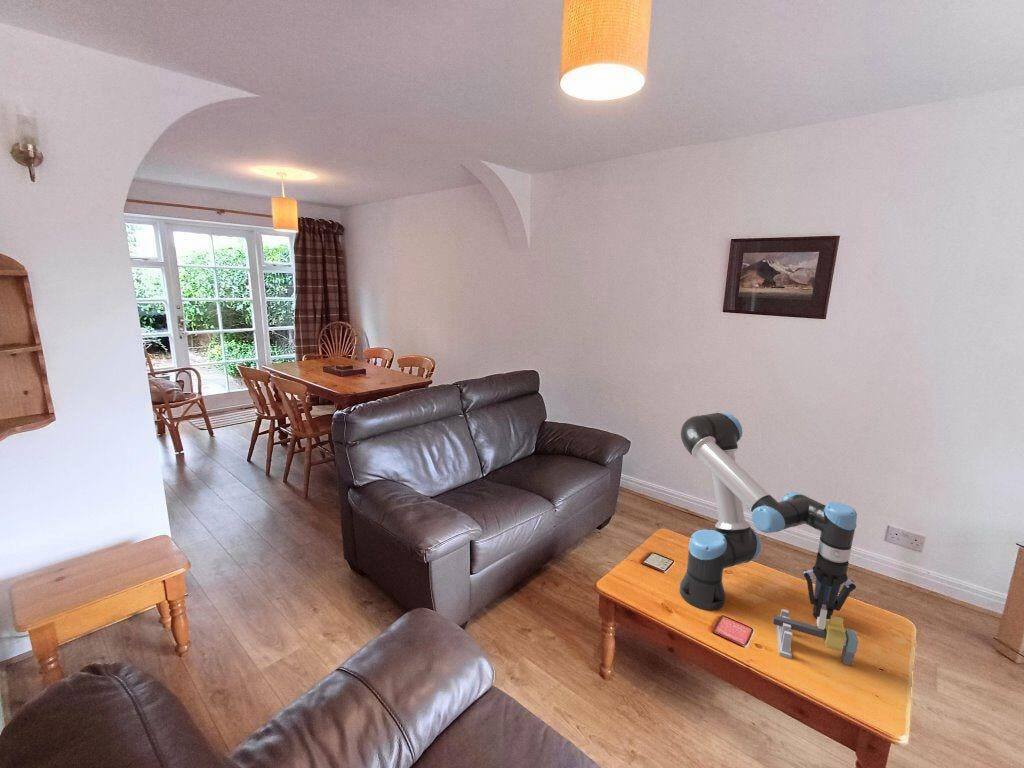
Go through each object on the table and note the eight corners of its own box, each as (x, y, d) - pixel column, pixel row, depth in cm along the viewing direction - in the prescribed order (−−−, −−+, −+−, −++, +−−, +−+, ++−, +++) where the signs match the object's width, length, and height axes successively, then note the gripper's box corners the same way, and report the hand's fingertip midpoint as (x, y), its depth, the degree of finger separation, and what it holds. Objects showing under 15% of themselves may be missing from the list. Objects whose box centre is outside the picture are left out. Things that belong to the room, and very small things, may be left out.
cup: (826, 627, 149) (833, 587, 146) (805, 614, 155) (812, 575, 151) (838, 620, 152) (845, 581, 149) (817, 607, 158) (823, 569, 155)
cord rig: (771, 653, 139) (775, 627, 137) (769, 624, 150) (773, 600, 148) (856, 679, 130) (861, 651, 128) (846, 646, 141) (851, 621, 139)
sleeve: (825, 646, 135) (830, 620, 133) (822, 635, 140) (827, 609, 138) (841, 651, 134) (846, 625, 132) (838, 639, 138) (843, 614, 136)
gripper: (808, 557, 131) (796, 627, 137) (863, 569, 126) (849, 642, 131) (804, 543, 138) (793, 611, 143) (857, 555, 132) (843, 624, 138)
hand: (820, 625), depth 137 cm, fingers closed
